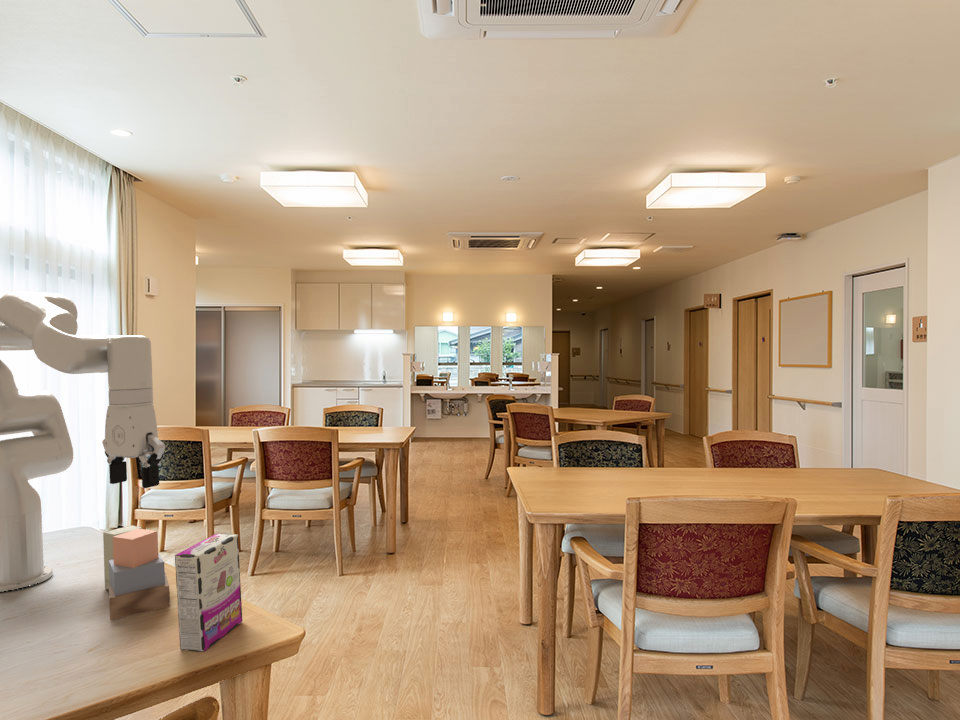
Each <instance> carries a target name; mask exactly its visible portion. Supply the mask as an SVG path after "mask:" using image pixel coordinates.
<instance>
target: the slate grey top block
mask: <svg viewBox="0 0 960 720" xmlns="http://www.w3.org/2000/svg"><path fill="white" fill-rule="evenodd" d="M158 557H159V558H158V559H155V560H153V561H150V562H147V563H145V564H142V565H140V566H137V567H135V568H131V567H125V566H119V565H114V559H113V560H109V578H110V585H111V587H112V590H113V592H114V595H115V596H118V595H122V594H126V593H131V592H135V591H139V590H143V589H147V588H152V587H156V586H160V585H164V584H165V573H166V571H165V570H166V569H165V561H164V559H163V558H162V556H161V555H160V553H158Z"/></svg>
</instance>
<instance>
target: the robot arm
mask: <svg viewBox="0 0 960 720" xmlns="http://www.w3.org/2000/svg"><path fill="white" fill-rule="evenodd" d="M78 313H79V312H78V309H77V306H76V304H75V303H74V301H72V299H70V298H69V297H67V296H65V295H64V294H59V293H51V292H39V291H38V292H36V291H35V292H34V291H13V292H10V293H7V294H5V295H3V296H1V297H0V351H1V352H2V351H32V350H33V351H34V354H35V355H36V358H37V359H38V360H39V361H41V363H43V364H45V365H47V366H48V367H50V368H52V369H54V370H56V371H59V372H61V373H64V374H70V375H79V374H80V375H83V374H95V373H101V374H102V373H103V374H105V373H107V384H108V385H107V387H108V388H107V389H108V405H107V410H106V416H105V427H104V439H103V440H102V442H101V443H102V446H103V449H104V454H105V456H106V457H107V460H106V462H107V464H108V468H109V470H108V471H109V484H111V485H116V484H120V483H124V482H127V480H128V467H127V460H126V461H125V459H126V458H127V459H135V458H139V459H140V461H141V464H142V465H143V467H141V487H142V488H143V489H148V488H151V487H156V486H159V485H160V465H161V464H162V463H161V460H162V459H163V457H164V453H165V449H166V444H165V443H164V442H163V441H162V440H160V439H159V434H158V426H157V425H158V424H157V417H156V412H155V411H156V410H155V408H154V391H153V390H154V388H153V386H154V385H153V358H152V342H151V339H150V338H149V337H147V336H145V335H137V334H136V335H135V334H133V335H131V334H128V335H127V334H126V335H125V334H124V335H108V334H107V335H106V334H105V335H104V334H103V335H101V334H77V332H78V328H79V327H78V320H77V319H78ZM29 432H31V433H32V435H30V436H22V437H21V436H20V437H14V438H13V437H12V438H8V439H3V440H2V439H1V440H0V593H5V592H4V591H6V592H9V591H8V590H12V591H15V590H14V589H17V590H19V589H18V588H22V587H26V586H29V585H32V586H34V585H33V584H35V585H38V584H40V583H42V582H44V581H47V580H48V579H50V578H51V576H53V568H52V567H50V566H46V565H44V564H45V562H44V561H45V560H44V544H43V543H44V539H43V521H42V519H43V517H42V516H43V515H42V500H41V497H40V495H39V493H38V491H37V490H36V489H35V488H34V487H33V486H32V485H31V484H30V482H29V480H33V479H36V478H40V477H46V476H51V475H56V474H60V473H62V472H64V471H66V470H68V469H69V468H70V466H71V465H72V463H73V460H74V448H73V443H72V440H71V437H70V433H69V430H68V427H67V423H66V419H65V417H64V412H63V410H62V407H61V404H60V402H59V400H58V399H57V397H56V396H55V395H53V393H51V392H49V391H47V390H43V389H41V390H40V389H31V390H20V389H19V388H18V387H17V386H16V382H15V378H14V375H13V373H12V371H11V369H10V368H9V366H8V365H6V363H4V362H3V361H2V360H1V359H0V436H4V435H5V436H7V435H13V434H22V433H29ZM148 457H149V458H148ZM37 583H38V584H37ZM29 587H30V586H29ZM26 588H27V587H26ZM22 589H23V588H22Z"/></svg>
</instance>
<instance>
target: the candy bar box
mask: <svg viewBox="0 0 960 720" xmlns="http://www.w3.org/2000/svg"><path fill="white" fill-rule="evenodd" d="M239 548H240V547H239V534H233V533H230V534H229V533H215V534H213V535H211V536H209V537H208V538H205V539H203V540H201V541H199V542H197V543H195V544H193V545H192V546H190V547H188V548H186V549H183V550H182V551H180V552H178V553H176V554H174V563H175V564H174V565H175V566H174V567H175V581H176V583H175V584H176V596H177V597H176V598H177V600H176V601H177V614H178V615H177V617H178V619H177V620H178V634H179V649H180V650H181V651H185V650H187V651H189V652H200V653H201V652H204V653H205V652H206V651H207V650H209V649H210V648H212V646H215V644H216V643H218V642H219V641H220V640H221V639H222V638H224V637H225V636H226V635H228V634H229V633H230V632H231V631H232V630H233V629H235V628H236V627H237V626H238V625H240V624H241V623H242V622H243V608H242V604H243V603H242V591H241V589H242V588H241V587H242V586H241V571H240V570H241V569H240V568H241V566H240V550H239ZM223 636H224V637H223ZM187 651H186V652H187Z"/></svg>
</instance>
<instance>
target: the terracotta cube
mask: <svg viewBox="0 0 960 720" xmlns="http://www.w3.org/2000/svg"><path fill="white" fill-rule="evenodd" d="M158 539H159V538H158V530H151V529H143V528H142V529H135V530H132V531H129V532H126V533H123V534H120V535H117V536H114V537H113V559H114V565H119V566H125V567H131V568H135V567H137V566H140V565H142V564H145V563H147V562H150V561H153V560H155V559H158V558H159V557H158V554H159V540H158Z"/></svg>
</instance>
